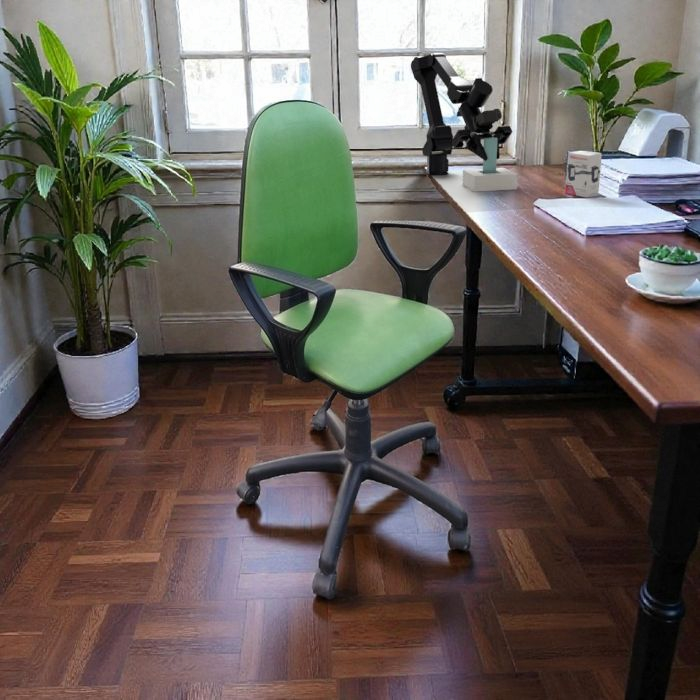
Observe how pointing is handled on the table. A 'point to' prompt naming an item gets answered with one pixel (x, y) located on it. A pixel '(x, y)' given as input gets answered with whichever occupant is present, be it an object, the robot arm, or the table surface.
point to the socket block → (489, 180)
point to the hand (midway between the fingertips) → (492, 159)
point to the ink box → (583, 173)
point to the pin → (490, 155)
